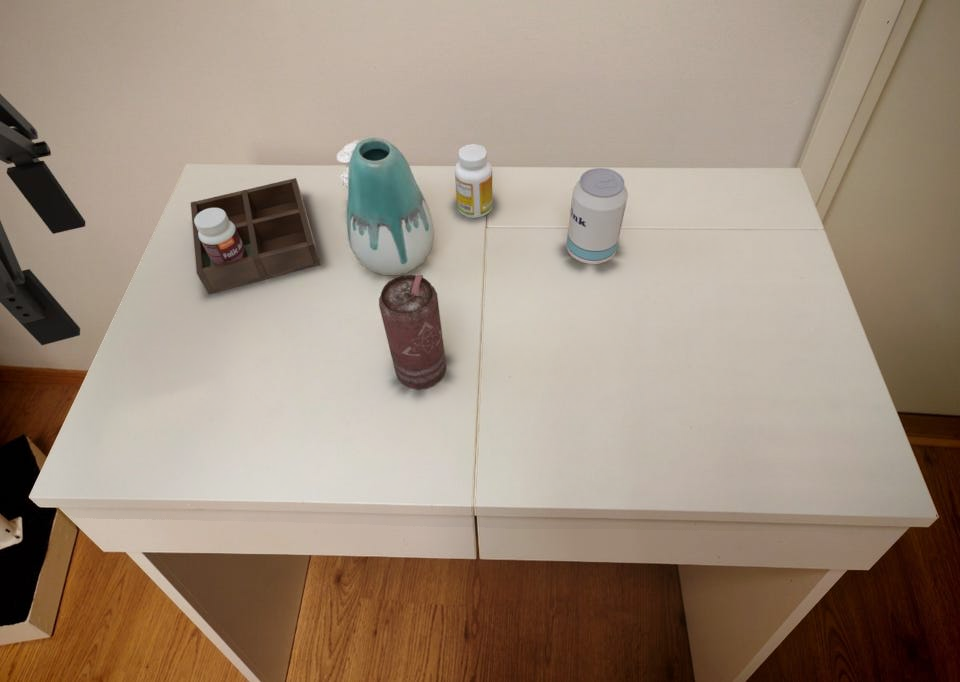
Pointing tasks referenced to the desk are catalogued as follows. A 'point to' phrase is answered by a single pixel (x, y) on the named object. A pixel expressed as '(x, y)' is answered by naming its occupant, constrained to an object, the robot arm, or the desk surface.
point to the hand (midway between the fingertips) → (65, 278)
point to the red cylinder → (413, 330)
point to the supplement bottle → (473, 181)
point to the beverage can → (596, 215)
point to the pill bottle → (219, 236)
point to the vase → (386, 210)
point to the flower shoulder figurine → (346, 159)
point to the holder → (259, 235)
